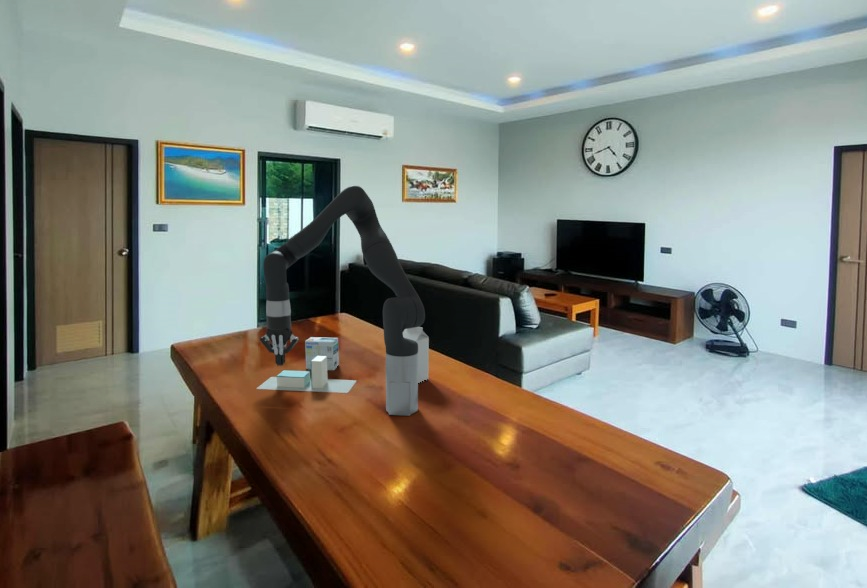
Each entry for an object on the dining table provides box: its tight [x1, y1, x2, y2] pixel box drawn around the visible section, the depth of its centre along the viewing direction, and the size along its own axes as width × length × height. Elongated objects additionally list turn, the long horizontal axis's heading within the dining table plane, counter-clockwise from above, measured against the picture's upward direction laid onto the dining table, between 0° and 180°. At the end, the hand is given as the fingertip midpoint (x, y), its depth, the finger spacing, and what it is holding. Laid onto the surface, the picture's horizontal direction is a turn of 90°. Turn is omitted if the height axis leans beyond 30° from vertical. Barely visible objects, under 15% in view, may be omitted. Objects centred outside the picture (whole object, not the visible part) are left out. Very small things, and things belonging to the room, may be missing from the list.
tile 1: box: [276, 370, 311, 388], centre depth 170 cm, size 6×4×9 cm
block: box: [310, 356, 329, 388], centre depth 168 cm, size 6×4×9 cm, turn 174°
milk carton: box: [402, 326, 430, 384], centre depth 174 cm, size 7×7×19 cm
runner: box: [256, 376, 358, 394], centre depth 170 cm, size 12×30×1 cm, turn 84°
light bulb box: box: [304, 336, 340, 371], centre depth 188 cm, size 11×7×11 cm, turn 84°
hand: (280, 364), depth 169 cm, fingers closed
